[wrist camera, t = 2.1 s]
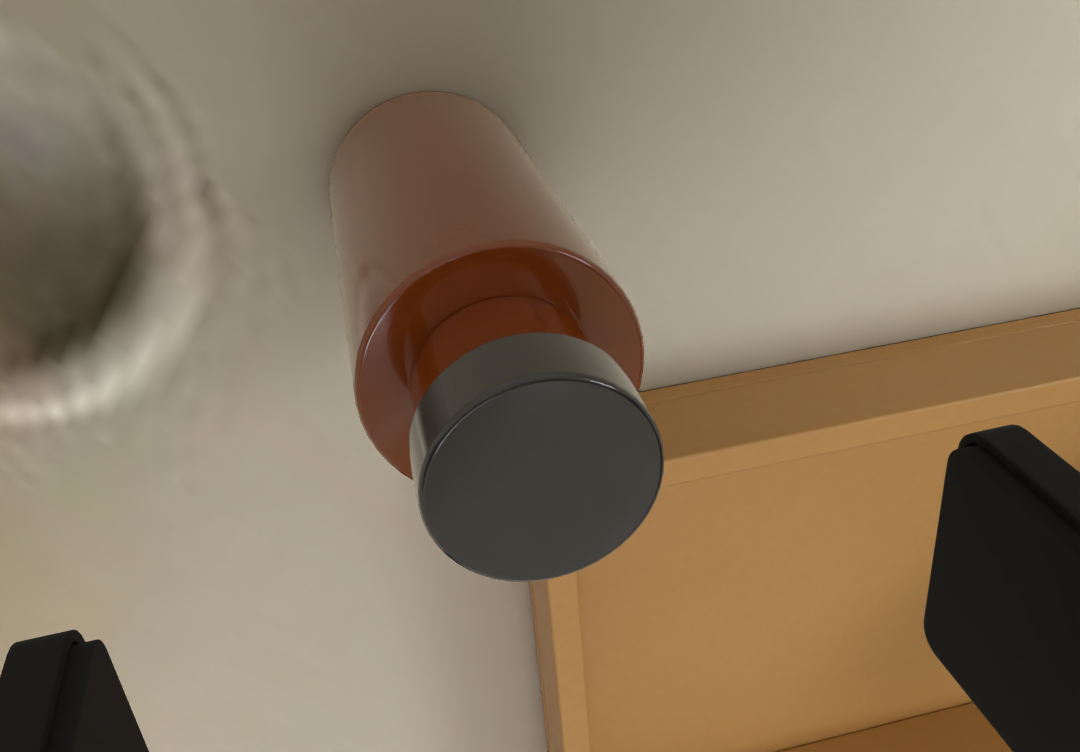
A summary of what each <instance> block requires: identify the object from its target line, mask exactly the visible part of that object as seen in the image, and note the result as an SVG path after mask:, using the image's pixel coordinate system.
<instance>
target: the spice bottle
mask: <svg viewBox="0 0 1080 752" xmlns="http://www.w3.org/2000/svg"><path fill="white" fill-rule="evenodd" d="M329 201H330V209H331V217H332V224H333V232H334V240H335V247H336V255H337V263H338V270H339V278H340V286H341V293H342V301H343V309H344V317H345V324H346V332H347V340H348V347H349V355H350V363H351V370H352V378H353V386H354V393H355V401H356V406H357V410H358V413H359V417H360V420H361V423H362V425H363V427H364V429H365V431H366V433H367V436H368V437H369V439H370V440H371V442H372V443H373V445H374V446H375V448H376V449H377V450H378V451H379V453H380V454H381V455H382V456H383V457H384V458H385V459H386V460H387V461H388V462H389V463H390V464H391V465H392V466H394V467H395V468H396V469H397V470H398V471H400V472H401V473H402V474H404V475H405V476H407V477H409V478H410V479H412V480H413V481H414V486H415V491H416V496H417V501H418V506H419V510H420V514H421V517H422V521H423V523H424V525H425V527H426V529H427V532H428V533H429V535H430V536H431V538H432V539H433V541H434V542H435V543H436V545H437V546H438V547H439V548H440V549H441V550H442V551H443V552H444V553H445V554H446V555H447V556H449V557H450V558H451V559H452V560H454V561H455V562H456V563H458V564H459V565H461V566H463V567H465V568H466V569H468V570H470V571H473V572H475V573H477V574H480V575H483V576H486V577H490V578H493V579H498V580H505V581H517V582H529V581H541V580H547V579H553V578H557V577H561V576H565V575H569V574H571V573H574V572H577V571H579V570H582V569H584V568H586V567H588V566H590V565H592V564H594V563H596V562H598V561H600V560H601V559H603V558H605V557H606V556H608V555H609V554H611V553H612V552H613V551H615V550H616V549H617V548H619V547H620V546H621V545H622V544H623V543H624V542H625V541H627V540H628V539H629V538H630V537H631V536H632V535H633V534H634V532H635V531H636V530H637V529H638V528H639V527H640V525H641V524H642V523H643V521H644V520H645V518H646V517H647V515H648V514H649V512H650V511H651V509H652V507H653V505H654V503H655V501H656V498H657V496H658V493H659V490H660V487H661V483H662V478H663V472H664V448H663V442H662V438H661V434H660V431H659V429H658V426H657V424H656V422H655V420H654V418H653V416H652V415H651V413H650V411H649V410H648V408H647V406H646V405H645V403H644V402H643V400H642V398H641V397H640V395H639V393H638V391H639V388H640V383H641V378H642V372H643V364H644V346H643V336H642V332H641V328H640V324H639V320H638V317H637V315H636V313H635V310H634V308H633V306H632V304H631V302H630V300H629V299H628V297H627V296H626V294H625V292H624V291H623V289H622V288H621V286H620V285H619V284H618V282H617V281H616V279H615V278H614V276H613V275H612V274H611V272H610V271H609V269H608V268H607V267H606V265H605V264H604V262H603V261H602V259H601V258H600V257H599V255H598V254H597V252H596V251H595V250H594V248H593V247H592V245H591V244H590V242H589V241H588V240H587V238H586V237H585V235H584V234H583V232H582V231H581V230H580V228H579V227H578V225H577V224H576V223H575V221H574V220H573V218H572V217H571V215H570V214H569V213H568V211H567V210H566V208H565V207H564V205H563V204H562V203H561V201H560V200H559V198H558V197H557V196H556V194H555V193H554V191H553V190H552V188H551V187H550V186H549V184H548V183H547V181H546V180H545V178H544V177H543V176H542V174H541V173H540V171H539V170H538V169H537V167H536V166H535V164H534V163H533V161H532V160H531V159H530V157H529V156H528V154H527V153H526V151H525V150H524V149H523V147H522V146H521V144H520V143H519V142H518V140H517V139H516V137H515V136H514V134H513V133H512V132H511V130H510V129H509V128H508V127H507V126H506V124H505V123H504V122H503V121H502V120H501V119H500V118H499V117H498V116H496V115H495V114H494V113H493V112H492V111H490V110H489V109H487V108H486V107H484V106H483V105H481V104H479V103H477V102H475V101H473V100H471V99H468V98H465V97H463V96H460V95H456V94H451V93H446V92H433V91H429V92H416V93H411V94H407V95H402V96H399V97H397V98H394V99H391V100H389V101H387V102H385V103H383V104H381V105H379V106H377V107H376V108H374V109H373V110H371V111H370V112H368V113H367V114H366V115H365V116H363V117H362V118H361V119H360V120H359V121H358V122H357V123H356V124H355V125H354V126H353V127H352V129H351V130H350V131H349V132H348V133H347V135H346V137H345V138H344V140H343V141H342V143H341V144H340V147H339V149H338V151H337V153H336V155H335V158H334V161H333V164H332V168H331V173H330V179H329Z"/></svg>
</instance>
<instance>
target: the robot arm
mask: <svg viewBox="0 0 1080 752" xmlns="http://www.w3.org/2000/svg"><path fill="white" fill-rule="evenodd" d="M924 631H925V636H926V639H927V642H928V644H929V646H930V648H931V650H932V651H933V653H934V654H935V655H936V657H937V658H938V659H939V660H940V662H941V663H942V664H943V665H944V667H945V668H946V669H947V670H948V672H949V673H950V674H951V675H952V677H953V678H954V679H955V680H956V682H957V683H958V684H959V685H960V687H961V688H962V689H963V690H964V692H965V693H966V694H967V695H968V696H969V698H970V699H971V700H972V701H973V703H974V704H975V705H976V706H977V708H978V709H979V710H980V711H981V713H982V714H983V715H984V716H985V718H986V719H987V720H988V721H989V723H990V724H991V725H992V726H993V728H994V729H995V730H996V731H997V733H998V734H999V735H1000V736H1001V738H1002V739H1003V740H1004V741H1005V743H1006V744H1007V745H1008V746H1009V748H1010V749H1011V750H1012V751H1013V752H1080V472H1079V471H1077V470H1076V469H1075V468H1074V467H1072V466H1071V465H1070V464H1069V463H1067V462H1066V461H1065V460H1064V459H1062V458H1061V457H1060V456H1059V455H1057V454H1056V453H1055V452H1054V451H1052V450H1051V449H1050V448H1049V447H1047V446H1046V445H1045V444H1044V443H1042V442H1041V441H1040V440H1039V439H1037V438H1036V437H1035V436H1034V435H1032V434H1031V433H1030V432H1029V431H1027V430H1026V429H1024V428H1023V427H1021V426H1019V425H1013V424H1010V425H1006V426H1001V427H997V428H992V429H988V430H983V431H978V432H974V433H970V434H967V435H965V436H964V437H963V438H962V439H961V441H960V442H959V446H958V449H956V450H954V451H952V452H951V453H950V455H949V457H948V461H947V467H946V474H945V480H944V487H943V494H942V500H941V507H940V514H939V521H938V527H937V534H936V541H935V547H934V554H933V561H932V568H931V574H930V581H929V588H928V594H927V601H926V608H925V615H924ZM0 752H149V751H148V748H147V746H146V744H145V741H144V739H143V736H142V734H141V731H140V729H139V727H138V724H137V722H136V719H135V717H134V714H133V712H132V710H131V707H130V705H129V702H128V700H127V698H126V695H125V693H124V690H123V688H122V685H121V683H120V681H119V678H118V676H117V673H116V671H115V669H114V666H113V664H112V661H111V659H110V656H109V654H108V652H107V649H106V647H105V645H104V643H103V642H102V641H101V640H93V641H88V642H85V641H84V639H83V637H82V635H81V634H80V633H79V632H78V631H77V630H70V631H66V632H61V633H56V634H52V635H47V636H43V637H38V638H34V639H29V640H24V641H20V642H16V643H14V644H13V645H12V646H11V647H10V650H9V652H8V654H7V657H6V660H5V664H4V667H3V670H2V673H1V677H0Z"/></svg>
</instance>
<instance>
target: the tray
mask: <svg viewBox="0 0 1080 752" xmlns="http://www.w3.org/2000/svg"><path fill="white" fill-rule="evenodd" d="M639 395H640V397H641V398H642V400H643V402H644V403H645V405H646V406H647V408H648V410H649V411H650V413H651V415H652V416H653V418H654V420H655V422H656V424H657V426H658V429H659V431H660V434H661V438H662V442H663V448H664V472H663V478H662V483H661V487H660V490H659V493H658V496H657V498H656V501H655V503H654V505H653V507H652V509H651V511H650V512H649V514H648V515H647V517H646V518H645V520H644V521H643V523H642V524H641V525H640V527H639V528H638V529H637V530H636V531H635V532H634V534H633V535H632V536H631V537H630V538H629V539H628V540H627V541H625V542H624V543H623V544H622V545H621V546H620V547H619V548H617V549H616V550H615V551H613V552H612V553H611V554H609V555H608V556H606V557H605V558H603V559H601V560H600V561H598V562H596V563H594V564H592V565H590V566H588V567H586V568H584V569H582V570H579V571H577V572H574V573H571V574H569V575H565V576H561V577H557V578H553V579H547V580H541V581H529V586H530V595H531V604H532V612H533V621H534V630H535V639H536V648H537V657H538V666H539V675H540V684H541V693H542V702H543V711H544V720H545V728H546V737H547V746H548V752H1013V751H1012V750H1011V749H1010V748H1009V746H1008V745H1007V744H1006V743H1005V741H1004V740H1003V739H1002V738H1001V736H1000V735H999V734H998V733H997V731H996V730H995V729H994V728H993V726H992V725H991V724H990V723H989V721H988V720H987V719H986V718H985V716H984V715H983V714H982V713H981V711H980V710H979V709H978V708H977V706H976V705H975V704H974V703H973V701H972V700H971V699H970V698H969V696H968V695H967V694H966V693H965V692H964V690H963V689H962V688H961V687H960V685H959V684H958V683H957V682H956V680H955V679H954V678H953V677H952V675H951V674H950V673H949V672H948V670H947V669H946V668H945V667H944V665H943V664H942V663H941V662H940V660H939V659H938V658H937V657H936V655H935V654H934V653H933V651H932V650H931V648H930V646H929V644H928V642H927V639H926V636H925V631H924V615H925V608H926V601H927V594H928V588H929V581H930V574H931V568H932V561H933V554H934V547H935V541H936V534H937V527H938V521H939V514H940V507H941V500H942V494H943V487H944V480H945V474H946V467H947V461H948V457H949V455H950V453H951V452H952V451H954V450H956V449H958V446H959V442H960V441H961V439H962V438H963V437H964V436H965V435H967V434H970V433H974V432H978V431H983V430H988V429H992V428H997V427H1001V426H1006V425H1010V424H1013V425H1019V426H1021V427H1023V428H1024V429H1026V430H1027V431H1029V432H1030V433H1031V434H1032V435H1034V436H1035V437H1036V438H1037V439H1039V440H1040V441H1041V442H1042V443H1044V444H1045V445H1046V446H1047V447H1049V448H1050V449H1051V450H1052V451H1054V452H1055V453H1056V454H1057V455H1059V456H1060V457H1061V458H1062V459H1064V460H1065V461H1066V462H1067V463H1069V464H1070V465H1071V466H1072V467H1074V468H1075V469H1076V470H1077V471H1079V472H1080V309H1074V310H1069V311H1064V312H1059V313H1053V314H1048V315H1043V316H1038V317H1033V318H1027V319H1022V320H1017V321H1012V322H1006V323H1001V324H996V325H991V326H985V327H980V328H975V329H970V330H964V331H959V332H954V333H949V334H943V335H938V336H933V337H928V338H922V339H917V340H912V341H907V342H901V343H896V344H891V345H886V346H880V347H875V348H870V349H865V350H859V351H854V352H849V353H844V354H838V355H833V356H828V357H823V358H817V359H812V360H807V361H802V362H797V363H791V364H786V365H781V366H776V367H770V368H765V369H760V370H755V371H749V372H744V373H739V374H734V375H728V376H723V377H718V378H713V379H707V380H702V381H697V382H692V383H686V384H681V385H676V386H671V387H665V388H660V389H655V390H650V391H644V392H639Z"/></svg>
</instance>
